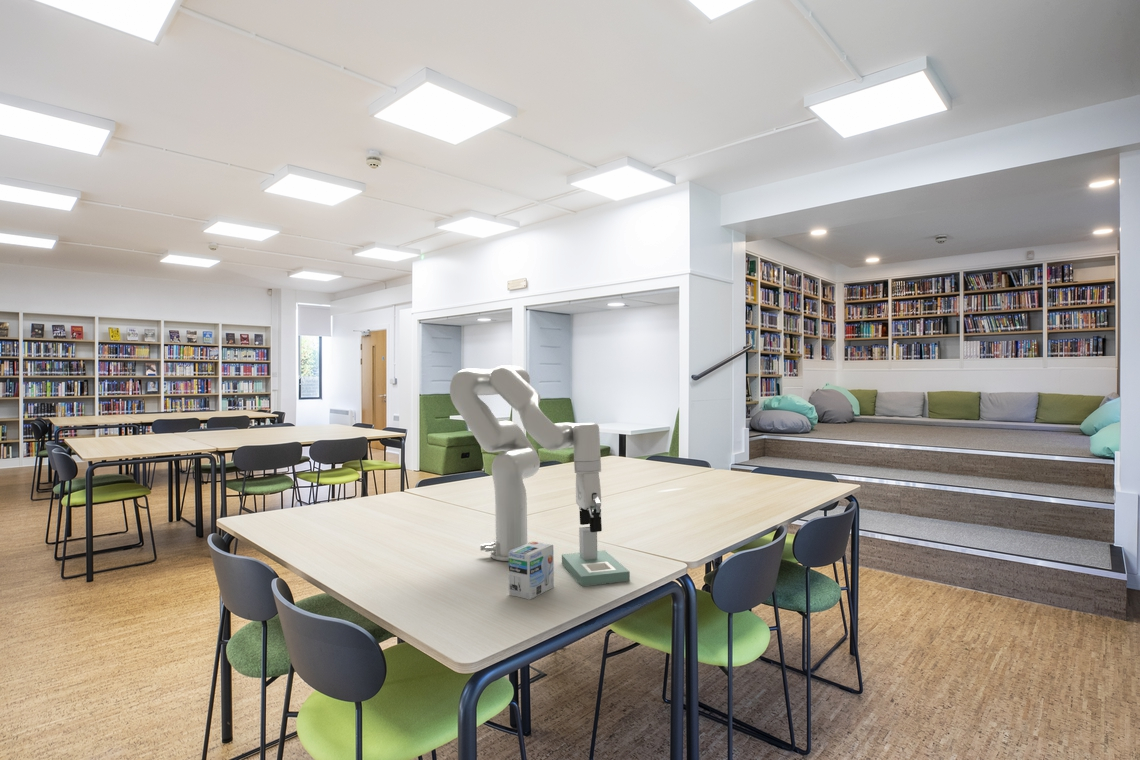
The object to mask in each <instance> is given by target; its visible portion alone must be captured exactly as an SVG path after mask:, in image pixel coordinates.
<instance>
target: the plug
mask: <svg viewBox="0 0 1140 760" xmlns="http://www.w3.org/2000/svg"><path fill="white" fill-rule="evenodd" d="M578 532H579V533H578V535H579V553H580V557H581V558H582V559H583V560H589V559H598V558H597V551H598V532H590V526H584V527H581V526H579V530H578Z"/></svg>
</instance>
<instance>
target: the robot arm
mask: <svg viewBox="0 0 1140 760" xmlns="http://www.w3.org/2000/svg"><path fill="white" fill-rule="evenodd" d="M530 383H531V378H530V374H529V372H528V371H527V370H526V369H525V368H524V367H521V366H519V365H500V366H496V367H495V368H464V369H461V370H459V371H457V372H456V373H454V374H453V376H452V378H451V380H450V385H449V396H450V399H451V402H452V404H453V406H454V407H455V409H456V411H457V413H458V414H459V415H460V416H461V418H462V419H463V420H464V422H465V424H466V425H467V427H468V429H469V430H470V432H471V433H472V435H473V436H474V438H475V439H476V441H477V442H478V444H479V446H480V447H481V449H482V450H484V451H485V452H487V453H498V454H497V455H495V456H494V458H493V460H492V463H491V475H492V482H493V485H494V486H493V487H494V504H495V505H494V506H495V507H494V508H495V509H494V510H495V512H494V513H495V538H494V539H493V541H492V542H490V543H480V546H479V551H480V552H482V551H484V552H487V553H488V552H490V557H491V558H492V559H494V560H496V561H501V562H509V551H511V550H513V549H516V548H518V547H520V546H523V545H525V544H528V543H529V542H528V498H527V490H526V487H525V484H524V481H523V480H525V479H528V478H531V477H533V476H534V475H536V473H538V471H539V469H540V465H541V461H540V460H541V459H540V457H539V454H538V452H537V451H536V449H535V448H534V446H533V445H532V442H530V440H529V438H528V437H527V435H526V434H525V432H524V431H523V430H522V428H521V427H520V426H519V425H518V424H517V423H515V422H514V421H512V420H499V419H498V418H497V417H496V416H495V415H494V413H493V412H492V409H490V407H489V406H488V405H487V403H485V402H484V401H483V400H482V399H481V398H480V397H479V396H495V395H499V396H500V397H501V398H502V399H503V400H504V401H505V402H506V403H508V404H509V406H511V408H512V409H513V410H514V411H516V412H517V414H518V415H519V419H520V421H521V424H522V426H523V427H524V428H523V429H525V431H526V433H528V435H529V436H530V437H531V438H532V439H533V440H534V441H535V442H536V443H537V444H538V445H539V446H541V447H542V448H543V449H545V450H547V451H552V452H554V451H559V450H565V449H570V448H573V463H574V464H573V467H574V473H575V504H576V505H577V506H578V508H579V524H580V525H581V526H583V525H589V527H590V532H597V533H598V532H599V533H600V532H602V530H603V529H602V513H601V512H602V508H601V507H602V492H601V490H602V489H601V481H600V473H601V472H602V460H601V441H600V440H601V439H600V438H601V437H600V426H599V424H597V422H579V423H577V422H569V421H567V422H557V423H553V421H552V420H550V418H549V417H547V416H546V414H544V412H543V411H542V410H541V409H540V407H539V404H540V402H541V394H540V393H539V392H538V391H537V390H536V389H535V388H534V387H533V386H532V385H531V384H530ZM499 452H500V453H499Z"/></svg>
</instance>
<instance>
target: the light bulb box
mask: <svg viewBox="0 0 1140 760" xmlns="http://www.w3.org/2000/svg"><path fill="white" fill-rule="evenodd" d="M554 562H555V561H554V545H553V544H551V543H544V542H538V541H533V540H532V541H531V542H528V544H525V545H523V546H520V547H518V548H516V549H513V550H511V551H509V561H508V591H509V592H508V594H509V596H514V597H518V598H522V599H526V600H530V601H531V600H532V599H534V598H536V597H538V596H540V595H541V594H544V593H546V592H547V591H549V590H551V589H553V588H554V587H555V583H554V582H555V571H554V570H555V569H554V567H555V563H554Z"/></svg>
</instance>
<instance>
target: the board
mask: <svg viewBox="0 0 1140 760" xmlns="http://www.w3.org/2000/svg"><path fill="white" fill-rule="evenodd" d="M597 558H598V559H589V560H583V559H582V558H581V557H580V552H574V553H572V552H571V553H564V554H563V553H562V554H561V564H562V565H563V567H564V568H566V570H567V571H568V573H569V574H570V575H571V576H572V577H573V578H574V579H575V581H576V582H577V583H578V585H580V586H582V587H589V585H591V586H597V584H600V585H606V583H609V584H614V583H613V582H618V583H622V582H621V581H626V582H630V581H631V576H630V575H631V572H630V570H628V569H627V568H626V567H625V566H624V565H623V564H622V563H620V562H619V561H618V560H617V559H616V558H615V557H613V556H612V555H611V554H610V553H609V552H608V551H606V550H605V549H603V550H597Z"/></svg>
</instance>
